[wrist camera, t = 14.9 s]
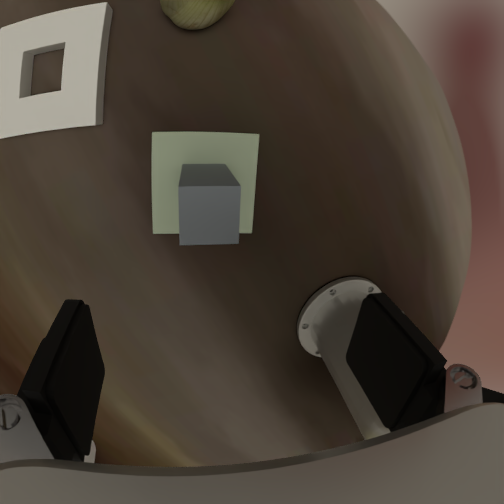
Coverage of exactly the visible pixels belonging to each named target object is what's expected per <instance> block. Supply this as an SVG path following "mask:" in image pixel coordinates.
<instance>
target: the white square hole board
mask: <svg viewBox="0 0 504 504" xmlns="http://www.w3.org/2000/svg"><path fill="white" fill-rule="evenodd" d="M112 13H113V9H112V8H111V7H110V5H109V4H108V3H107V2H105V3H98V4H92V5H86V6H81V7H75V8H70V9H66V10H61V11H57V12H53V13H49V14H45V15H41V16H37V17H34V18H30V19H27V20H24V21H21V22H17V23H14V24H11V25H8V26H6V27H3V28H1V30H0V139H1V138H6V137H11V136H17V135H22V134H28V133H34V132H41V131H48V130H55V129H63V128H71V127H81V126H91V125H101V124H103V104H104V85H105V71H106V60H107V50H108V41H109V34H110V26H111V19H112ZM59 49H65V51H64V60H63V71H62V84H61V91H55V92H50V93H44V94H39V95H34V96H31V83H32V71H33V61H34V55H37V54H41V53H45V52H50V51H55V50H59Z"/></svg>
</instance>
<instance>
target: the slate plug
mask: <svg viewBox="0 0 504 504" xmlns="http://www.w3.org/2000/svg"><path fill="white" fill-rule="evenodd" d="M240 200H241V185H240V184H239V182H238V181H237V180H236V178H235V177H234V175H233V174H232V173H231V171H230V170H229V168H228V167H227V166H226V164H182V169H181V175H180V180H179V186H178V201H179V239H180V245H208V244H239V224H240Z"/></svg>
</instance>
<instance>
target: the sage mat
mask: <svg viewBox="0 0 504 504" xmlns="http://www.w3.org/2000/svg"><path fill="white" fill-rule="evenodd" d="M258 145H259V134H249V133H229V132H152V219H153V234H174V233H179V201H178V186H179V180H180V175H181V169H182V164H226V166H227V167H228V168H229V170H230V171H231V173H232V174H233V175H234V177H235V178H236V180H237V181H238V182H239V184H240V185H241V200H240V224H239V233H252V224H253V211H254V198H255V185H256V171H257V158H258Z"/></svg>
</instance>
